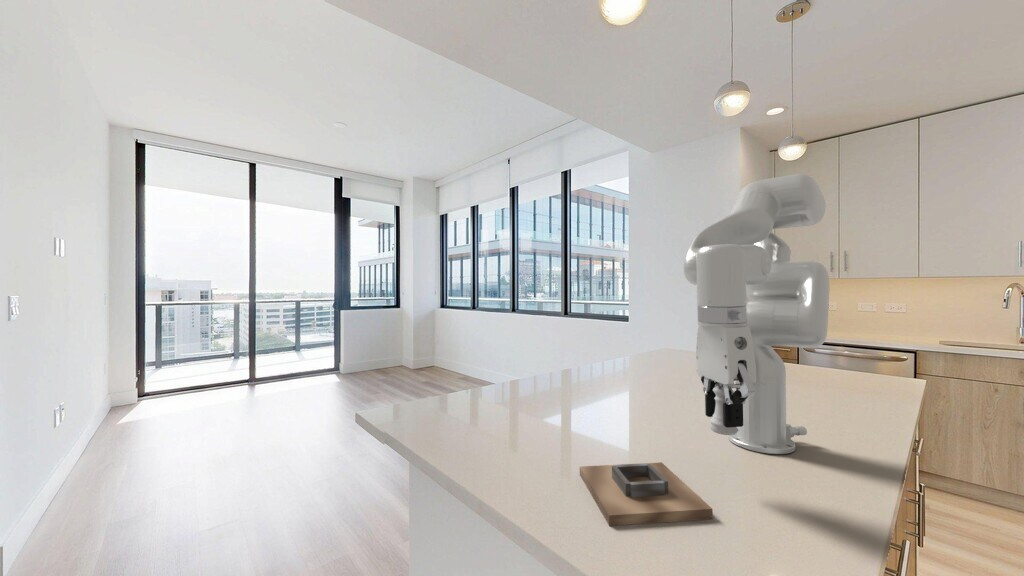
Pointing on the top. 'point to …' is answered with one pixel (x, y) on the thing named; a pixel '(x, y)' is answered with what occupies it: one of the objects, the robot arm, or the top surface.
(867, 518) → the top surface
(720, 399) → the rook chess piece
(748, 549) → the top surface
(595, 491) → the jig board
